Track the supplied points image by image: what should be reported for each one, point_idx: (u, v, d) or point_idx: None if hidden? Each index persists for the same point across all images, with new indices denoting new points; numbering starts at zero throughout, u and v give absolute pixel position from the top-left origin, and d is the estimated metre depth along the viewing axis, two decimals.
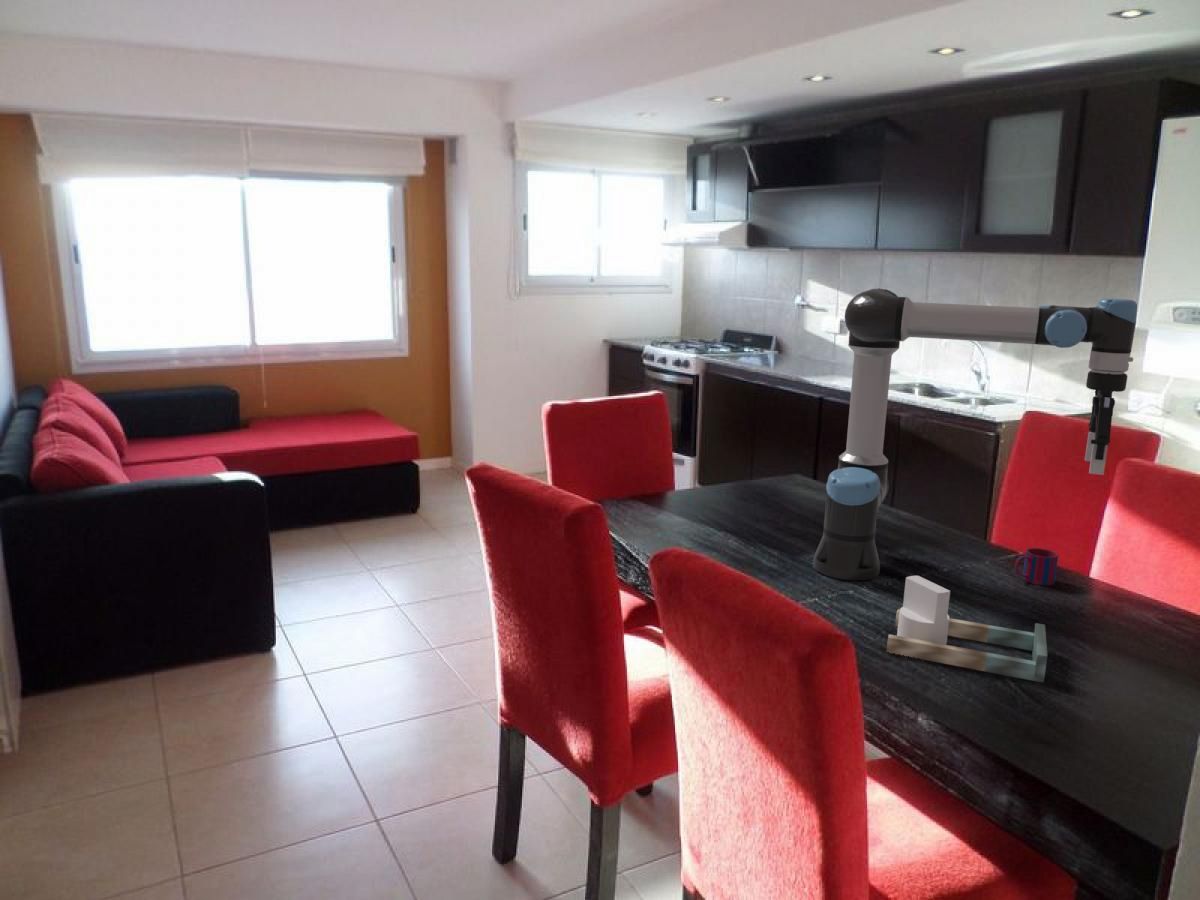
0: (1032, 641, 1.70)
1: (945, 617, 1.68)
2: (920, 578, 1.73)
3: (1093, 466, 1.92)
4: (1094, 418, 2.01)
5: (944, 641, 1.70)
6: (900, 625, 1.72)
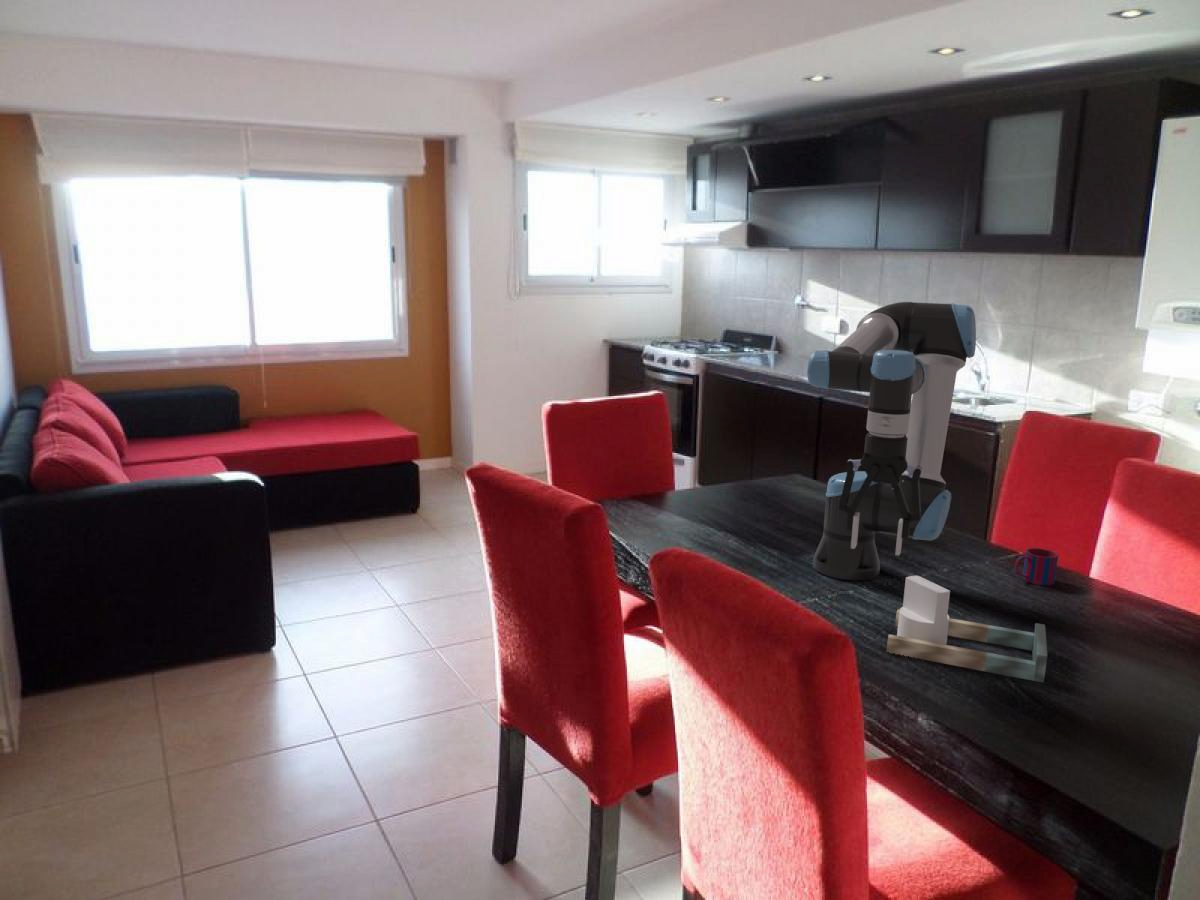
0: (1032, 641, 1.70)
1: (945, 617, 1.68)
2: (920, 578, 1.73)
3: None
4: None
5: (944, 641, 1.70)
6: (900, 625, 1.72)
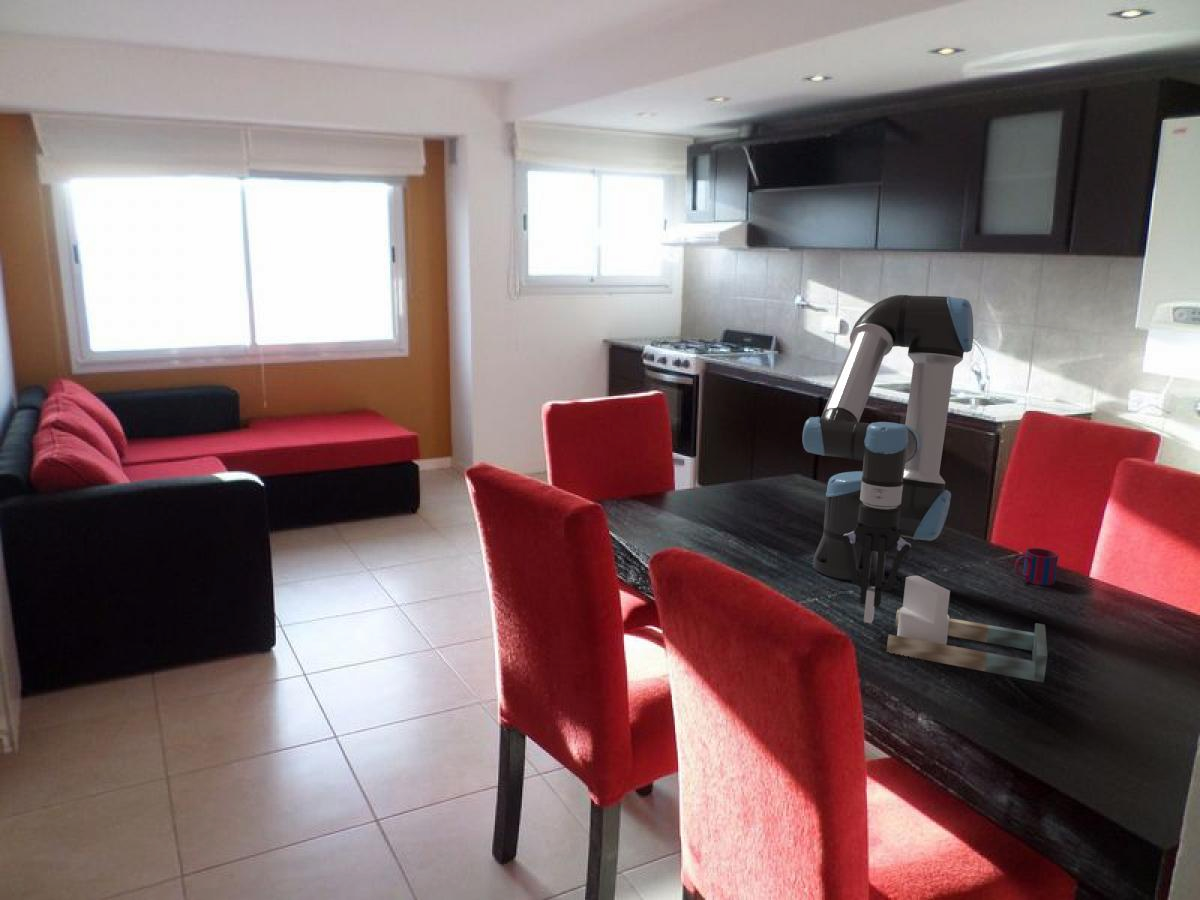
0: (1032, 641, 1.70)
1: (945, 617, 1.68)
2: (920, 578, 1.73)
3: None
4: None
5: (944, 641, 1.70)
6: (900, 625, 1.72)
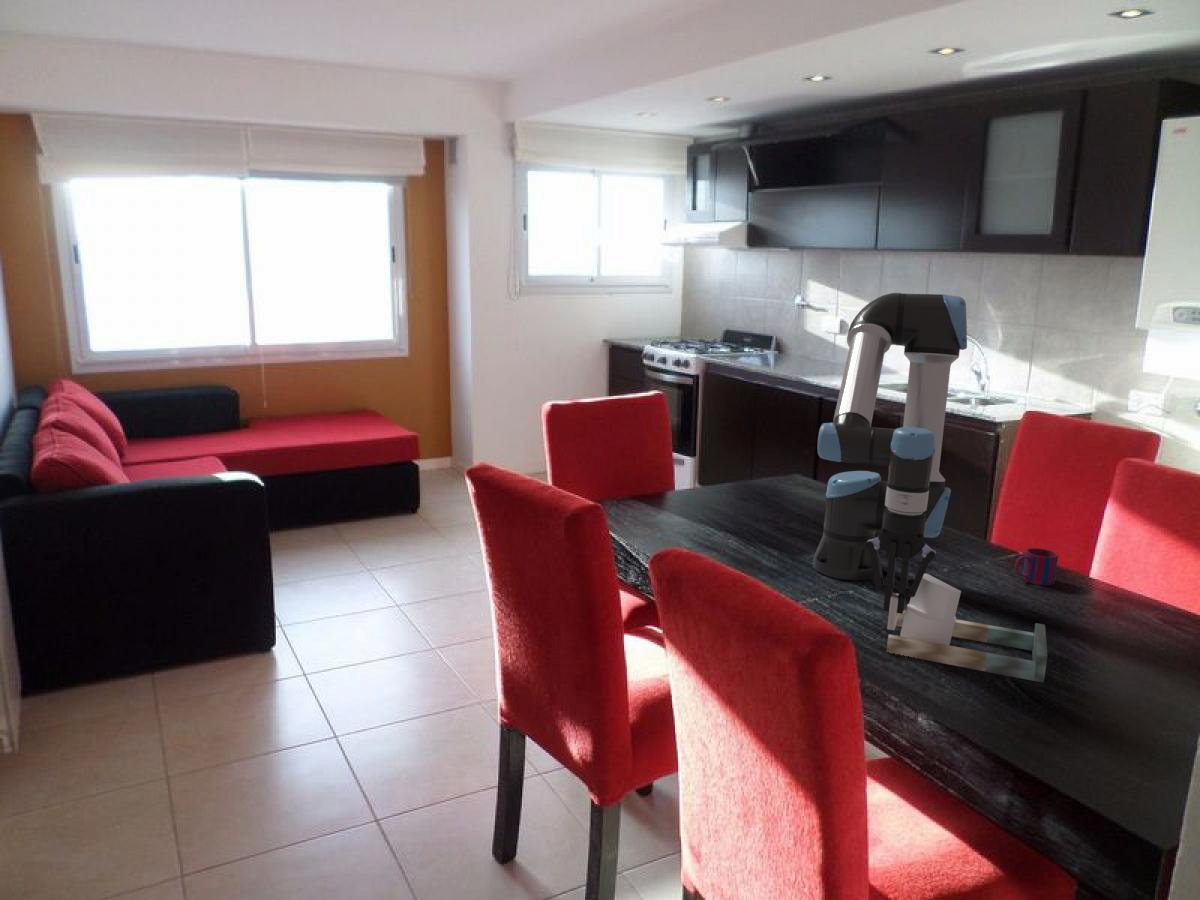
0: (1032, 641, 1.70)
1: (953, 617, 1.68)
2: (930, 576, 1.73)
3: None
4: None
5: (949, 641, 1.69)
6: (906, 621, 1.71)
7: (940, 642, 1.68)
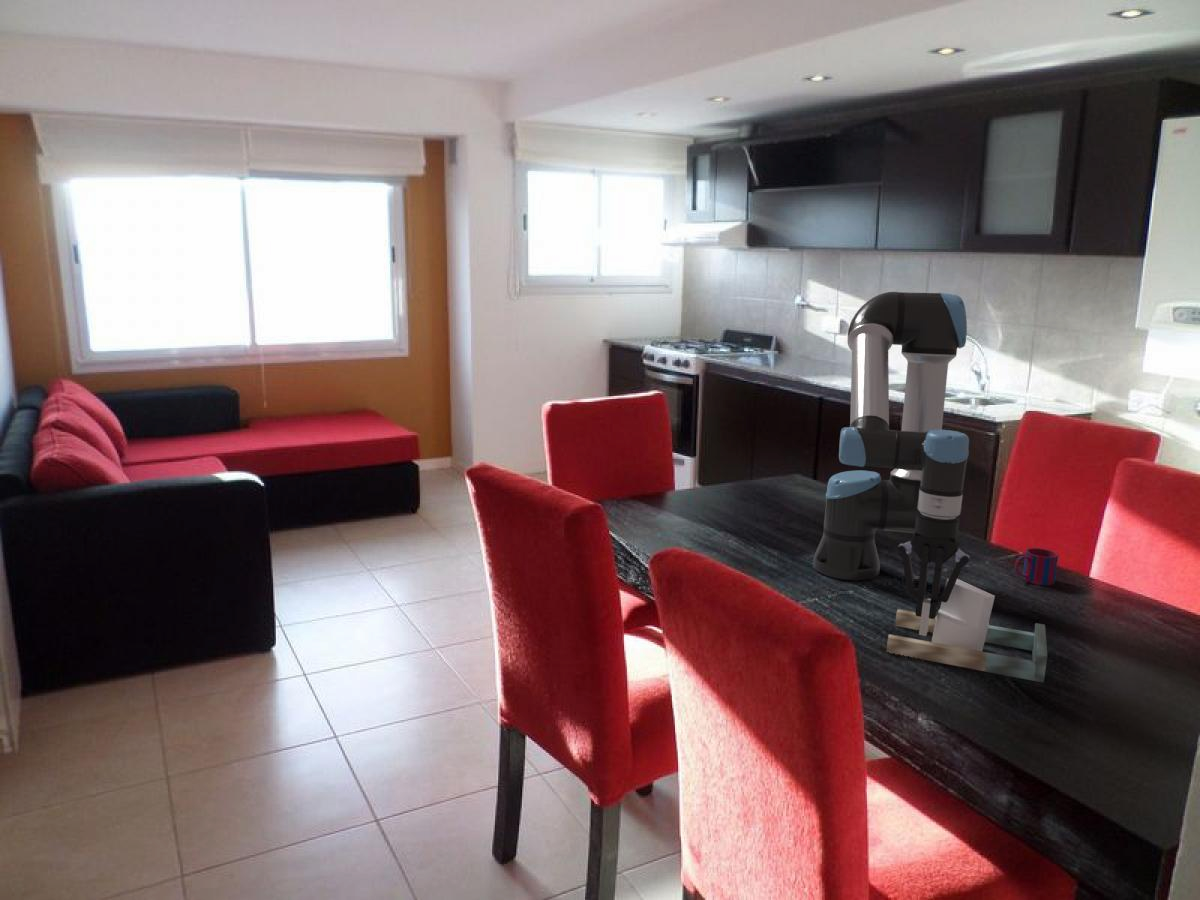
0: (1032, 641, 1.70)
1: (987, 622, 1.66)
2: (960, 581, 1.71)
3: None
4: None
5: (982, 646, 1.68)
6: (939, 628, 1.69)
7: (975, 648, 1.66)
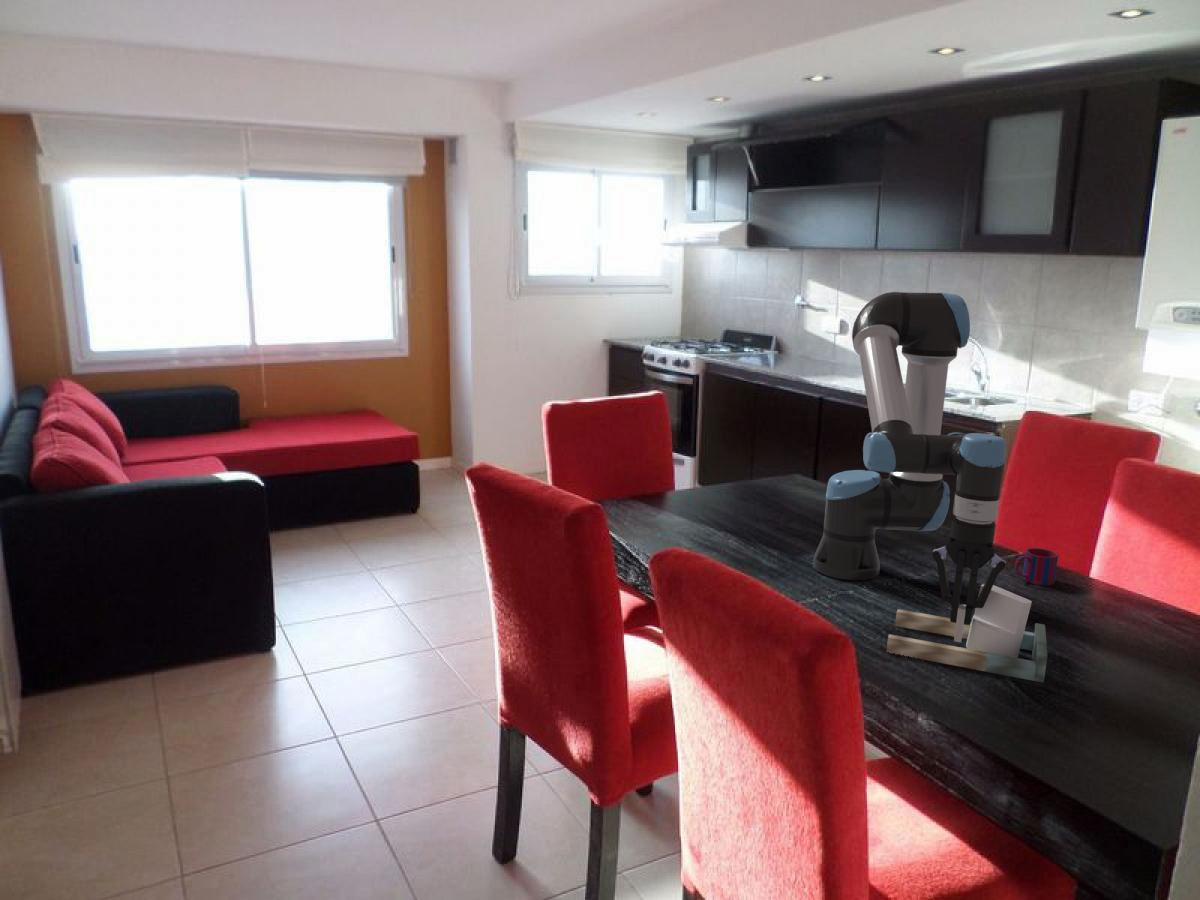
0: (1032, 641, 1.70)
1: (1024, 627, 1.64)
2: (994, 586, 1.68)
3: None
4: None
5: (1018, 651, 1.66)
6: (975, 635, 1.67)
7: (1012, 654, 1.64)
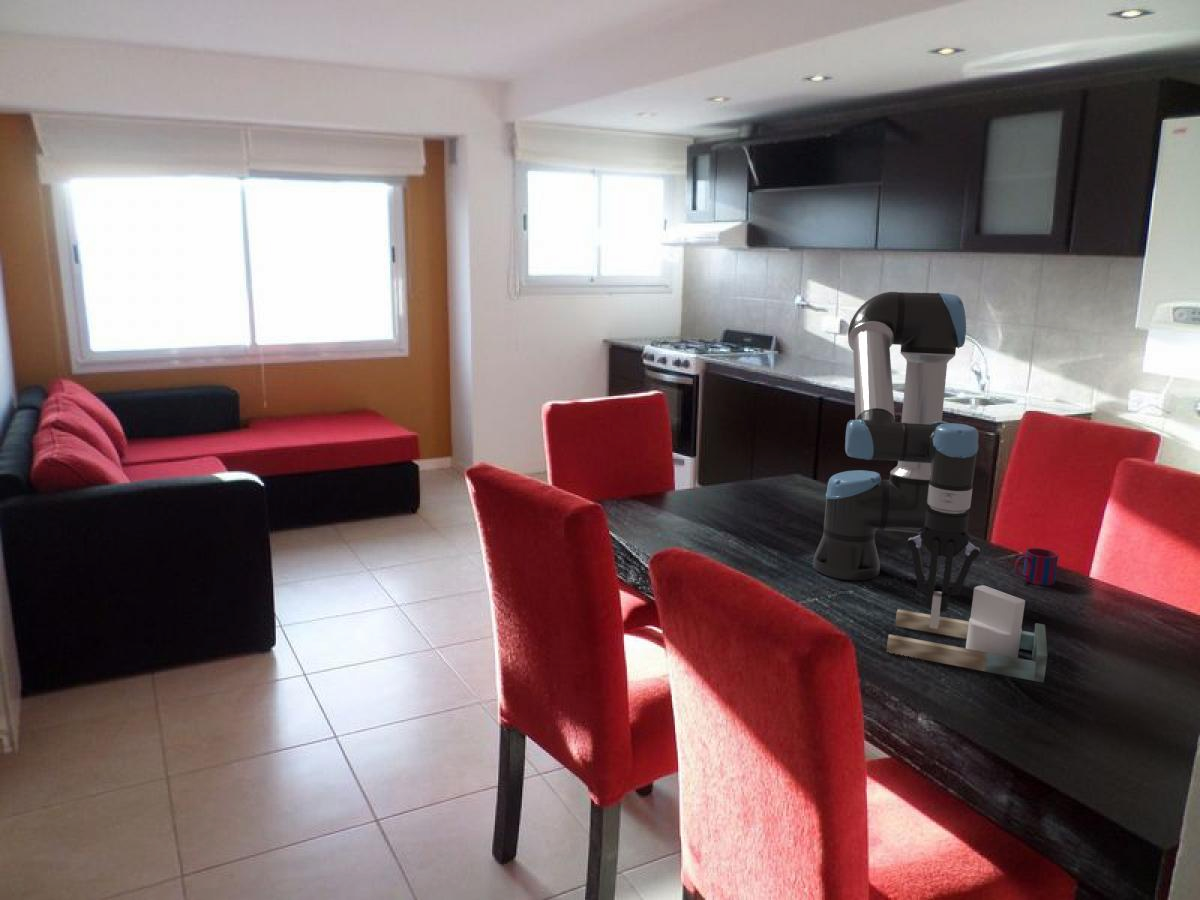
0: (1032, 641, 1.70)
1: (1020, 627, 1.64)
2: (988, 588, 1.69)
3: None
4: None
5: (1017, 651, 1.66)
6: (972, 638, 1.67)
7: (1011, 654, 1.65)
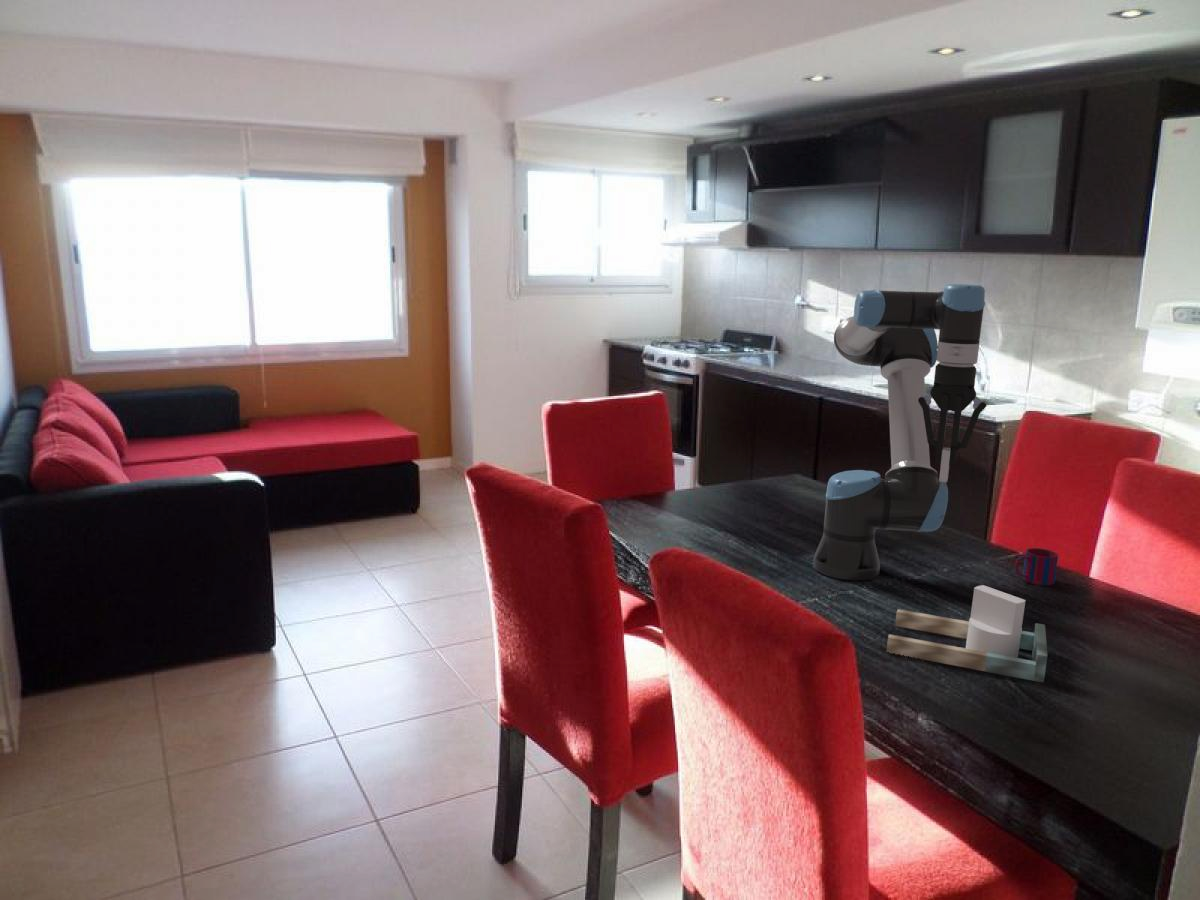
0: (1032, 641, 1.70)
1: (1020, 627, 1.64)
2: (988, 588, 1.69)
3: None
4: None
5: (1018, 651, 1.66)
6: (973, 638, 1.67)
7: (1011, 654, 1.65)
